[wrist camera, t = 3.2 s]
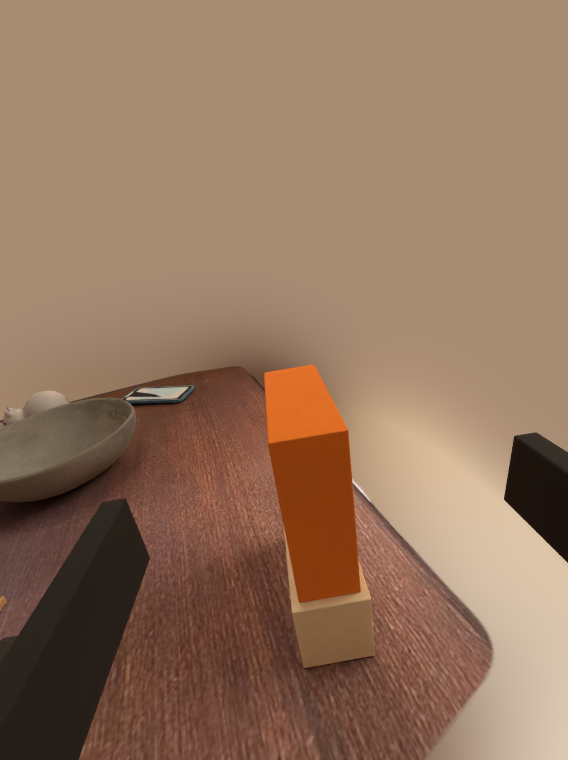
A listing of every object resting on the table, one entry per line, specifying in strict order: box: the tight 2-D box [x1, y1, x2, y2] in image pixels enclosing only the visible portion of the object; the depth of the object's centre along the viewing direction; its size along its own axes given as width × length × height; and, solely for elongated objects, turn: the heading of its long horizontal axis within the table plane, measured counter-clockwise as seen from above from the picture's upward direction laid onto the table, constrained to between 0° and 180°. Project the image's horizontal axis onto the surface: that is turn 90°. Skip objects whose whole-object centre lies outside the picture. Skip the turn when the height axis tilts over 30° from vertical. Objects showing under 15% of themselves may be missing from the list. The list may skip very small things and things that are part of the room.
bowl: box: [0, 398, 136, 502], centre depth 46 cm, size 21×21×8 cm
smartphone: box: [122, 386, 194, 404], centre depth 72 cm, size 7×1×15 cm
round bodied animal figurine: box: [0, 391, 69, 429], centre depth 60 cm, size 7×12×8 cm, turn 125°
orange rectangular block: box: [264, 365, 361, 603], centre depth 22 cm, size 10×4×12 cm, turn 5°
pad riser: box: [283, 524, 375, 668], centre depth 26 cm, size 11×5×6 cm, turn 4°
